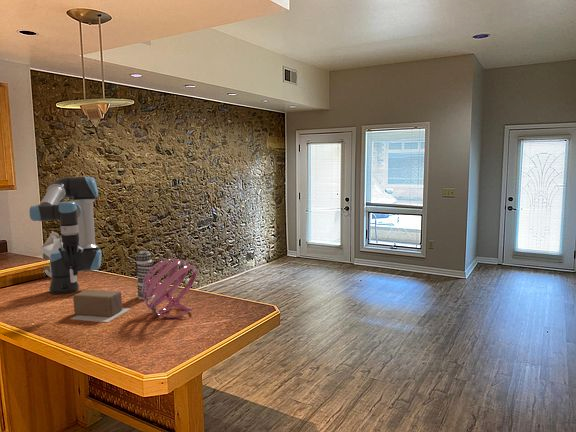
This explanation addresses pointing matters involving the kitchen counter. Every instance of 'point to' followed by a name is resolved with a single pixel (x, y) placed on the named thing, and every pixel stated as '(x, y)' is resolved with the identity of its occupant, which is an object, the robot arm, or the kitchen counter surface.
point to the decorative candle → (143, 270)
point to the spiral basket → (163, 286)
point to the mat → (99, 317)
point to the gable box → (51, 249)
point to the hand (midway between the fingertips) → (74, 281)
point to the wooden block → (97, 303)
